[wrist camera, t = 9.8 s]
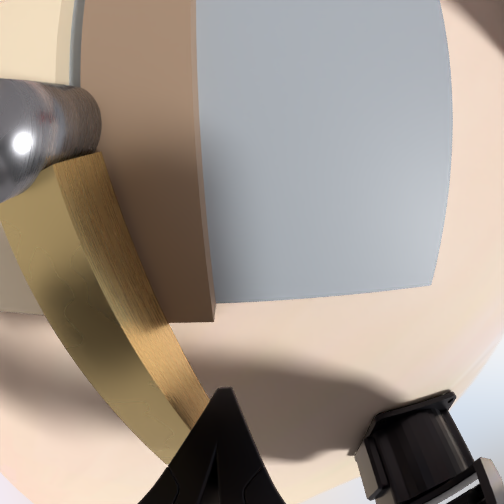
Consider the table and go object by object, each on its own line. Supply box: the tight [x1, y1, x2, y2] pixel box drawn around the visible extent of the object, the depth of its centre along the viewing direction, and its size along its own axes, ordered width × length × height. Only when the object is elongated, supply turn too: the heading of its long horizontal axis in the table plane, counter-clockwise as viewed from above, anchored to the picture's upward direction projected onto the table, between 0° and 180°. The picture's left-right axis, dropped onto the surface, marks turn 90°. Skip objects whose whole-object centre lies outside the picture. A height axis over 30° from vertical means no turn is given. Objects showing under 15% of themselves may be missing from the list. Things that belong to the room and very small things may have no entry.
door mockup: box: [0, 0, 453, 323], centre depth 6 cm, size 23×12×4 cm, turn 92°
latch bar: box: [0, 78, 210, 464], centre depth 7 cm, size 12×2×3 cm, turn 14°
